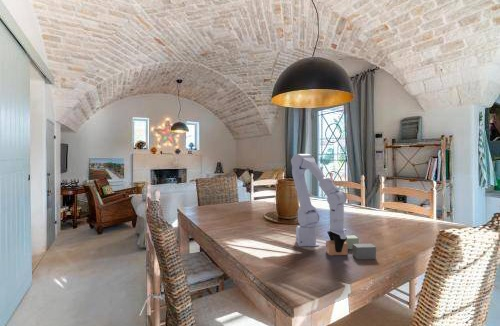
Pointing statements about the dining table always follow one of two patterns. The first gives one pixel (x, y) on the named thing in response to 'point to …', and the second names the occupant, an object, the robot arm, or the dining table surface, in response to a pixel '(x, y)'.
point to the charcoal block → (364, 251)
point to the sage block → (351, 241)
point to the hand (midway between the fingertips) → (336, 249)
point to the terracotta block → (332, 251)
